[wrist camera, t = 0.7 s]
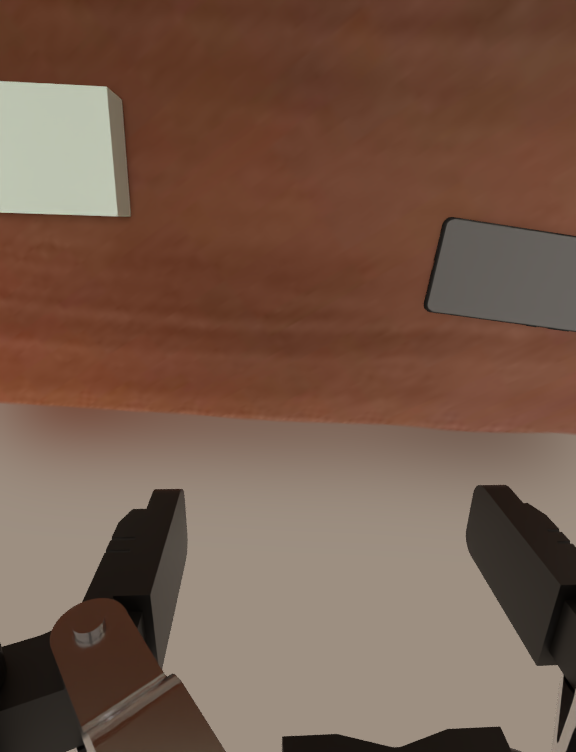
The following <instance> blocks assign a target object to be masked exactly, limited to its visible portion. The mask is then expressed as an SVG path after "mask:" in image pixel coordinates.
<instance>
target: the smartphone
mask: <svg viewBox="0 0 576 752" xmlns="http://www.w3.org/2000/svg"><path fill="white" fill-rule="evenodd" d="M434 260H435V262H434V266H433V270H432V271H431V275H430V280H429V281H430V282H429V285H428V286H429V287H428V290H427V292H426V293H427V295H426V296H425V301H424V308H425V309H426V310H427V311H429V312H434V313H441V314H449V315H456V316H463V317H471V318H478V319H486V320H493V321H500V322H508V323H515V324H522V325H527V326H532V327H545V328H548V329H554V330H562V331H574V332H576V236H571V235H564V234H558V233H551V232H545V231H539V230H532V229H526V228H519V227H513V226H506V225H500V224H493V223H487V222H480V221H474V220H467V219H461V218H455V217H450V218H447V219H446V220H445V221H444V222H443V225H442V229H441V233H440V237H439V242H438V246H437V250H436V254H435V258H434Z"/></svg>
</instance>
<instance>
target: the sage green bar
mask: <svg viewBox="0 0 576 752" xmlns="http://www.w3.org/2000/svg"><path fill="white" fill-rule="evenodd" d="M0 213H30V214H60V215H91V216H122V217H131V210H130V197H129V185H128V172H127V159H126V146H125V133H124V120H123V107H122V99H120V98H119V97H118V96H117V95H116V94H115V93H113V92H112V91H111V90H110V89H109V88H108V87H104V86H84V85H64V84H45V83H25V82H5V81H0Z"/></svg>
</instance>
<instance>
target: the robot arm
mask: <svg viewBox="0 0 576 752" xmlns="http://www.w3.org/2000/svg"><path fill="white" fill-rule="evenodd" d="M466 542H467V546H468V550H469V553H470V554H471V556H472V558H473V560H474V562H475V563H476V565H477V566H478V568H479V570H480V571H481V573H482V575H483V576H484V578H485V580H486V582H487V583H488V585H489V587H490V588H491V590H492V592H493V593H494V595H495V597H496V598H497V600H498V602H499V603H500V605H501V607H502V608H503V610H504V612H505V613H506V615H507V616H508V618H509V620H510V622H511V623H512V625H513V627H514V628H515V630H516V632H517V633H518V635H519V637H520V638H521V640H522V642H523V643H524V645H525V647H526V649H527V650H528V652H529V654H530V655H531V657H532V659H533V660H534V662H535V663H536V665H537V666H543V665H558V666H559V668H560V669H561V671H562V672H563V674H562V677H561V680H560V684H559V692H558V700H557V709H556V718H555V726H554V735H553V743H552V752H576V547H575V546H574V545H573V544H570V540H569V539H568V538H567V537H566V536H565V535H564V534H563V533H562V532H559V529H558V528H557V526H556V525H555V524H554V523H553V522H552V521H551V520H550V519H549V518H548V517H547V515H545V514H544V513H542V512H540V511H539V510H537V509H536V508H534V507H533V506H531V505H529V504H528V503H523V502H522V501H521V500H520V499H519V498H518V497H517V496H516V495H515V493H514V492H513V491H512V490H511V489H510V488H509V487H508V486H506V485H478V486H477V487H476V488H475V490H474V493H473V498H472V503H471V508H470V514H469V519H468V524H467V529H466ZM186 555H187V525H186V512H185V498H184V491H183V489H155V490H154V491H153V493H152V496H151V498H150V501H149V504H148V506H147V509H133V510H131V511H130V512H129V513H128V514H127V515H126V516H125V517H124V518H123V519H122V520H121V521H120V522H119V523H118V525H117V527H116V530H115V532H114V534H113V536H112V540H111V541H110V543H109V545H108V547H107V549H106V553H105V554H104V556H103V558H102V560H101V562H100V564H99V567H98V569H97V571H96V573H95V575H94V578H93V580H92V582H91V584H90V586H89V588H88V591H87V593H86V595H85V597H84V600H83V602H82V603H80V604H78V605H76V606H74V607H73V608H71V609H70V610H68V611H67V612H66V613H65V614H63V616H61V617H60V619H59V620H58V621H57V622H56V624H55V625H54V627H53V629H52V631H50V632H48V633H45V634H43V635H41V636H37V637H34V638H31V639H27V640H24V641H21V642H17V643H14V644H11V645H7V646H4V647H1V644H0V752H66V751H69V750H71V749H75V752H226V751H225V750H224V748H223V747H222V745H221V743H220V742H219V740H218V739H217V737H216V735H215V734H214V732H213V731H212V729H211V728H210V726H209V724H208V723H207V721H206V720H205V718H204V716H203V715H202V713H201V712H200V710H199V709H198V707H197V705H196V704H195V702H194V700H193V699H192V698H191V696H190V694H189V693H188V691H187V690H186V688H185V686H184V685H183V683H182V682H181V680H180V679H179V678H178V677H177V676H176V675H175V674H171V675H169V676H168V677H167V676H166V675H165V674H164V672H163V671H162V666H163V662H164V658H165V653H166V648H167V644H168V639H169V634H170V630H171V626H172V621H173V616H174V612H175V607H176V603H177V598H178V593H179V589H180V584H181V579H182V575H183V571H184V566H185V561H186ZM282 752H521V751H518V750H516V749H512V748H510V747H509V745H508V743H507V741H506V739H505V736H504V734H503V732H502V730H501V728H500V727H484V728H483V727H482V728H461V729H447V730H444V731H442V732H439V733H436V734H434V735H431V736H428V737H426V738H423V739H420V740H418V741H415V742H413V743H410V744H407V745H405V746H402V747H395V748H394V747H388V746H384V745H380V744H376V743H372V742H368V741H363V740H359V739H355V738H351V737H347V736H343V735H339V734H331V735H330V734H328V735H307V736H286V737H285V736H284V737H282Z"/></svg>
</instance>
